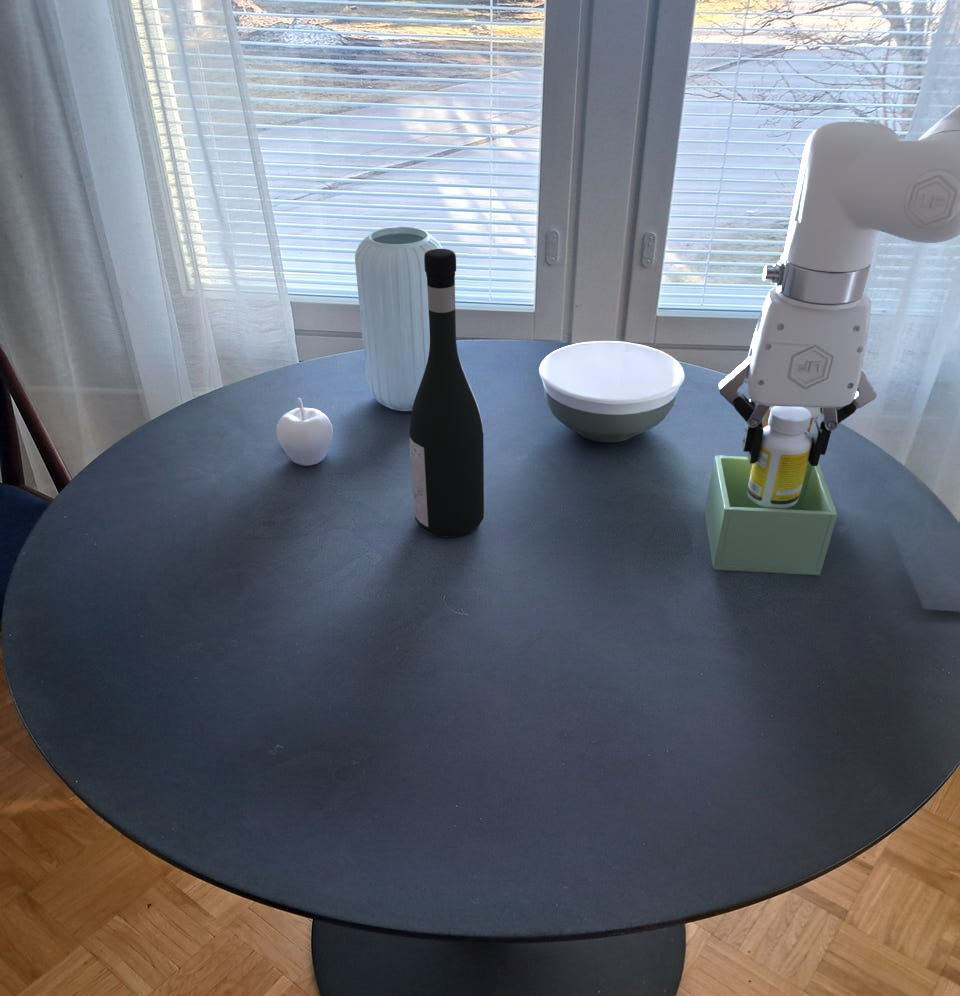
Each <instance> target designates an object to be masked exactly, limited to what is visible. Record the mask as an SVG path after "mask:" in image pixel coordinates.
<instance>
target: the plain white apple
mask: <svg viewBox="0 0 960 996" xmlns="http://www.w3.org/2000/svg"><path fill="white" fill-rule="evenodd" d="M297 404H298V407H295V408H294V409H292V410H289V411H287V412H286V413H284V414H283V415H282V417H281V418H280V419H278V422H277V425H276V429H275V430H276V431H275V432H276V433H275V434H276V438H277V441H278V443H279V445H280V447H281V448H282V449H283V451H284V452H285V453H286V455H287V456H288V457H289V458H290V460H291V461H292V462H293V463H295V464H296V465H300V466H313V465H314V466H315V465H317V464H319V463H321V462H322V461H324V460H325V458H326V457H327V455H328V452H329V451H330V447H331V444H332V441H333V437H334V428H333V424H332V422H331V420H330V419H329V417H328V416H327V415H326V414H325V413H323V412H322V411H320V410H319V409H317V408H309V407H304V405H303V401H302V398H301V397H297Z"/></svg>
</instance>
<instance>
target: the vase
mask: <svg viewBox="0 0 960 996" xmlns="http://www.w3.org/2000/svg"><path fill="white" fill-rule="evenodd" d="M432 249H443V246H442V245H441V243H440V241H438V239H437V238H436V237H434V236H433V235H431V234H430V233H429V232H428V231H426V230H424V229H423V228H419V227H416V226H408V225H407V226H405V225H404V226H403V225H402V226H401V225H399V226H398V225H397V226H387V227H381V228H379V229H376V230H374V231H371V232H370V233H369V234H368V235H367V236H366V237H364V238H363V240H361V242H360V243H359V244H358V246H357V248H356V251H355V254H354V263H355V264H354V265H355V275H356V282H357V283H356V284H357V294H358V305H359V306H358V307H359V317H360V326H361V337H362V349H363V358H364V359H363V360H364V369H365V379H366V386H367V390H368V392H369V393H370V395H371V396H372V398H374V400H375V401H376V402H378V403H379V404H382V405H383V406H384V407H386V408H388V409H391V410H395V411H400V412H412V408H413V404H414V400H415V397H416V395H417V392H418V389H419V386H420V383H421V381H422V378H423V375H424V372H425V368H426V365H427V361H428V356H429V348H430V328H429V308H428V290H427V276H426V272H425V265H424V255H425V253H426V252H427V251H429V250H432Z"/></svg>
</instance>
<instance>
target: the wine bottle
mask: <svg viewBox="0 0 960 996" xmlns="http://www.w3.org/2000/svg"><path fill="white" fill-rule="evenodd" d="M424 265H425V272H426V276H427V290H428V308H429V328H430V348H429V356H428V361H427V365H426V368H425V372H424V375H423V378H422V381H421V383H420V386H419V389H418V392H417V395H416V397H415V400H414V404H413V408H412V411H411V413H410V421H409V431H408V433H409V434H408V438H409V440H408V441H409V454H410V468H411V469H410V471H411V483H412V486H411V487H412V499H413V500H412V501H413V513H414V520H415V522H416V523H417V525H418V527H419V528H420V529H421V530H423V531H425V532H426V533H428V534H429V535H432V536H435V537H440V538H441V537H442V538H454V537H455V538H456V537H462V536H464V535H466V534H469V533H471V532H473V531H474V530H476V529H477V528H478V527H479V526H480V525H481V523H482V521H483V519H484V516H485V473H484V472H485V467H484V465H485V464H484V463H485V462H484V461H485V460H484V459H485V458H484V457H485V456H484V450H485V449H484V443H485V442H484V427H483V419H482V416H481V415H482V414H481V410H480V407H479V404H478V401H477V398H476V395H475V394H474V390H473V388H472V387H471V384H470V382H469V379H468V377H467V375H466V372H465V369H464V367H463V365H462V361H461V358H460V355H459V350H458V344H457V326H456V325H457V323H456V319H457V318H456V272H457V255H456V252H455V251H454V250H451V249H448V248H442V249H432V250H429V251H427V252H426V253H425V255H424Z"/></svg>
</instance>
